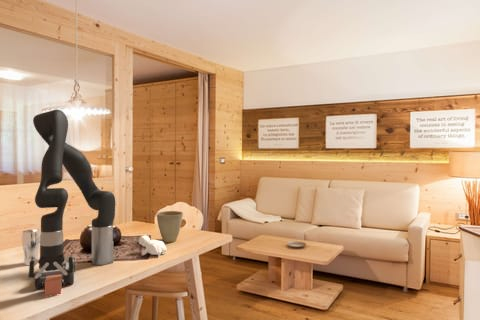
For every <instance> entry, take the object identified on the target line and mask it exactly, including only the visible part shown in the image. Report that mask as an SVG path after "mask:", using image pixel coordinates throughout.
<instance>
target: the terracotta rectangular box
mask: <svg viewBox="0 0 480 320" xmlns="http://www.w3.org/2000/svg"><path fill="white" fill-rule="evenodd" d="M62 281H63V280H62V274H60V275H51V276H46V280H45V282H44V297H45V296H47V297H51V296H50V295H54V296H58V295H57V294H62V288H63V286H62V283H63V282H62Z"/></svg>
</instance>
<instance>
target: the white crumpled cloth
mask: <svg viewBox="0 0 480 320" xmlns="http://www.w3.org/2000/svg"><path fill="white" fill-rule="evenodd" d="M138 243H139V245H140V246H142V247H145V249H144V250H143V251H142V253H141V256H145V255H147V254H150V255H154V256H155V255H156V256H157V258H159V257H161V255H162V254H164V255H166V254H167V250H168V248H167V247H166V244H165V242H164V241H163V240H157V239H151V238H150V236H149V235H140V237H139V239H138Z"/></svg>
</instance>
